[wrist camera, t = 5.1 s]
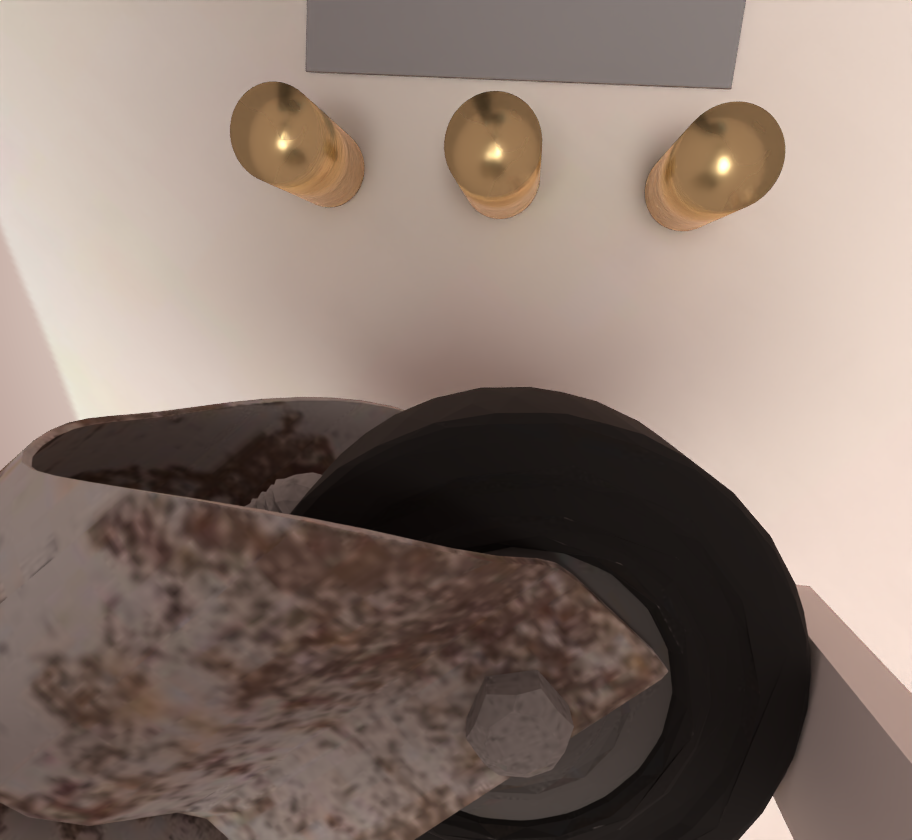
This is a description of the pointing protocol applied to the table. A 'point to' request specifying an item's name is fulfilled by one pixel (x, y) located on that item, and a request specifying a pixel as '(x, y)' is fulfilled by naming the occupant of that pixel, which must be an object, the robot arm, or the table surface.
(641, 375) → the table surface
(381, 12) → the rubber mat
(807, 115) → the table surface
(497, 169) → the posts
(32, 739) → the caster wheel
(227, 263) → the table surface
